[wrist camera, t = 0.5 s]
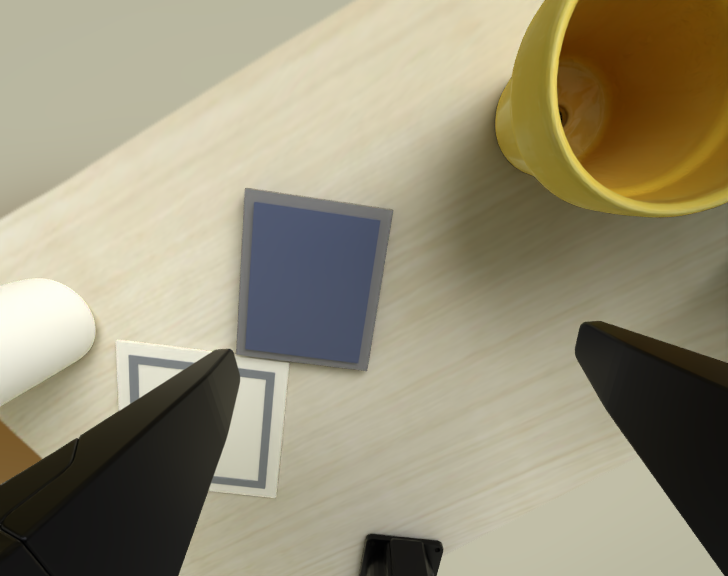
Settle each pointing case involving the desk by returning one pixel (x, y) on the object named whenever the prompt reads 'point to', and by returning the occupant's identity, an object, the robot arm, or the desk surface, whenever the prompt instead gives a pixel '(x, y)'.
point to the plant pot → (622, 105)
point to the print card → (250, 416)
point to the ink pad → (310, 279)
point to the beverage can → (40, 333)
